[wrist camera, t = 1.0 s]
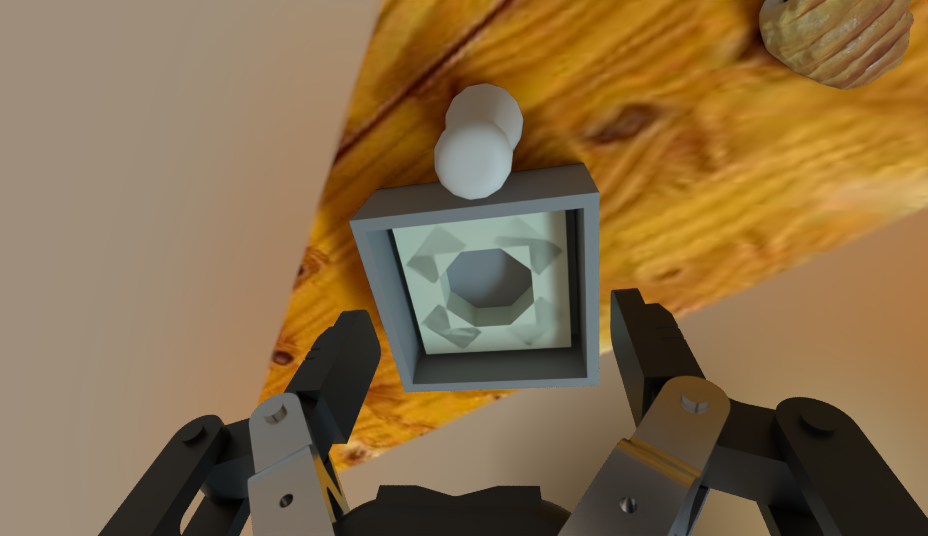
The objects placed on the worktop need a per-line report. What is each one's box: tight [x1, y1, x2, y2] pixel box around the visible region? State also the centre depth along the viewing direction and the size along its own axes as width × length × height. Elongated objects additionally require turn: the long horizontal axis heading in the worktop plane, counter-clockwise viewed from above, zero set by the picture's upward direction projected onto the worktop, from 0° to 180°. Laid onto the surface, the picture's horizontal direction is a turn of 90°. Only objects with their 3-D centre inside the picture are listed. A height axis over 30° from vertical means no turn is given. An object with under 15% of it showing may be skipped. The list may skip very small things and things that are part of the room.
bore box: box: [349, 163, 599, 392], centre depth 36 cm, size 18×18×7 cm
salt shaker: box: [434, 83, 523, 200], centre depth 27 cm, size 6×6×13 cm
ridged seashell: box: [759, 0, 914, 89], centre depth 25 cm, size 9×7×4 cm
